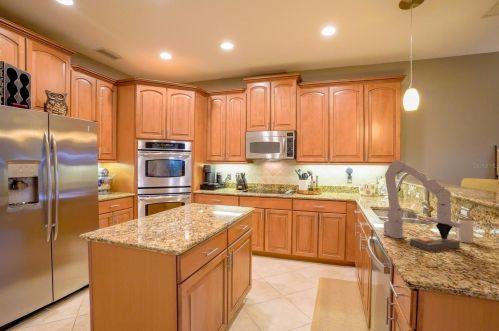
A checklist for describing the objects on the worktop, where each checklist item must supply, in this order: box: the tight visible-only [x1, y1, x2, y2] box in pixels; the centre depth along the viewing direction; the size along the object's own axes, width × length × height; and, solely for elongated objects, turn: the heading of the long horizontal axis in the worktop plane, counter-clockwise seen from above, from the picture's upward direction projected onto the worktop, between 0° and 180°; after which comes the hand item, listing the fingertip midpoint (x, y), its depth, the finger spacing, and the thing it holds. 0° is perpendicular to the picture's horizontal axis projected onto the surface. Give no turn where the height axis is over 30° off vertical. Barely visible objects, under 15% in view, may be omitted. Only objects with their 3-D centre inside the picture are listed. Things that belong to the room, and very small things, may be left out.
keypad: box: [409, 235, 461, 252], centre depth 125 cm, size 10×20×3 cm, turn 105°
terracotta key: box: [417, 237, 432, 243], centre depth 123 cm, size 4×4×2 cm
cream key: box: [426, 236, 442, 242], centre depth 125 cm, size 4×4×2 cm
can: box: [456, 217, 474, 244], centre depth 132 cm, size 6×6×12 cm
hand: (444, 238), depth 126 cm, fingers closed, pressing on sage key
